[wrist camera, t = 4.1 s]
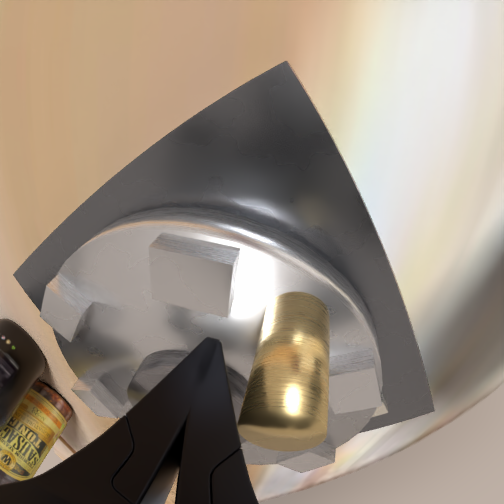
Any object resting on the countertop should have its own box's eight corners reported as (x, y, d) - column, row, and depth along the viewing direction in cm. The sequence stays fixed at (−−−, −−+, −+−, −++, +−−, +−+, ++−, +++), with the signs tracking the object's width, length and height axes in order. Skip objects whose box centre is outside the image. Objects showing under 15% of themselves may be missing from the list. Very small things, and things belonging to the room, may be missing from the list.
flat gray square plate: (289, 64, 10) (284, 58, 8) (430, 392, 17) (436, 418, 15) (26, 263, 18) (7, 279, 16) (192, 438, 24) (185, 457, 23)
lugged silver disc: (396, 194, 10) (470, 320, 4) (357, 443, 18) (354, 528, 12) (30, 224, 14) (-57, 292, 8) (134, 420, 22) (103, 484, 16)
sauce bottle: (79, 406, 27) (3, 545, 10) (69, 417, 30) (4, 536, 13) (32, 368, 26) (-55, 501, 9) (28, 384, 29) (-45, 498, 12)
